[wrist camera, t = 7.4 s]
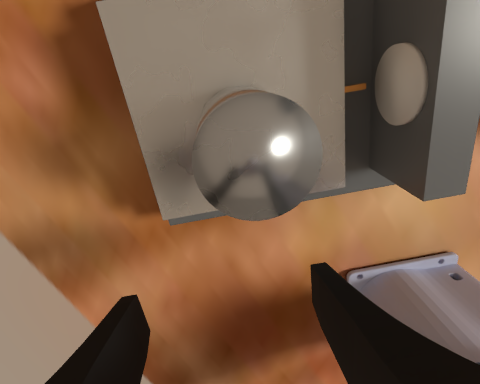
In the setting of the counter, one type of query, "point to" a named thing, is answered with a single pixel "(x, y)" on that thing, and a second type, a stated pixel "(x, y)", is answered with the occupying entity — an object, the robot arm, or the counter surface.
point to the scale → (407, 97)
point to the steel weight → (255, 153)
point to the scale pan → (224, 76)
